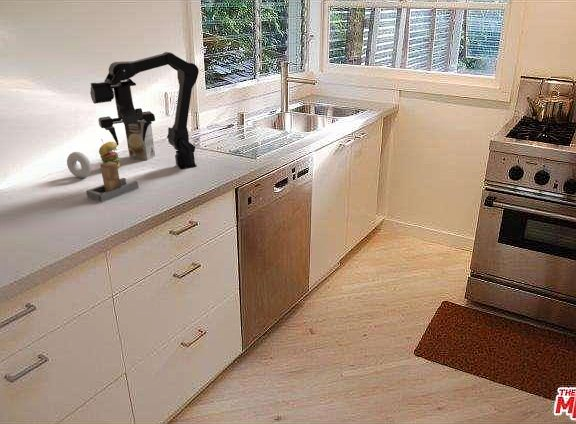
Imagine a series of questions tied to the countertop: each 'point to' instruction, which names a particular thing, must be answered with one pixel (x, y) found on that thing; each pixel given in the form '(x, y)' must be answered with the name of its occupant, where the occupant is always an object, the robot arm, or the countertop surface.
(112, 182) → the brown wooden block
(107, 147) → the hamburger
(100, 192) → the grey tray
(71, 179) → the countertop surface
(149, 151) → the coffee box
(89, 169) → the donut
